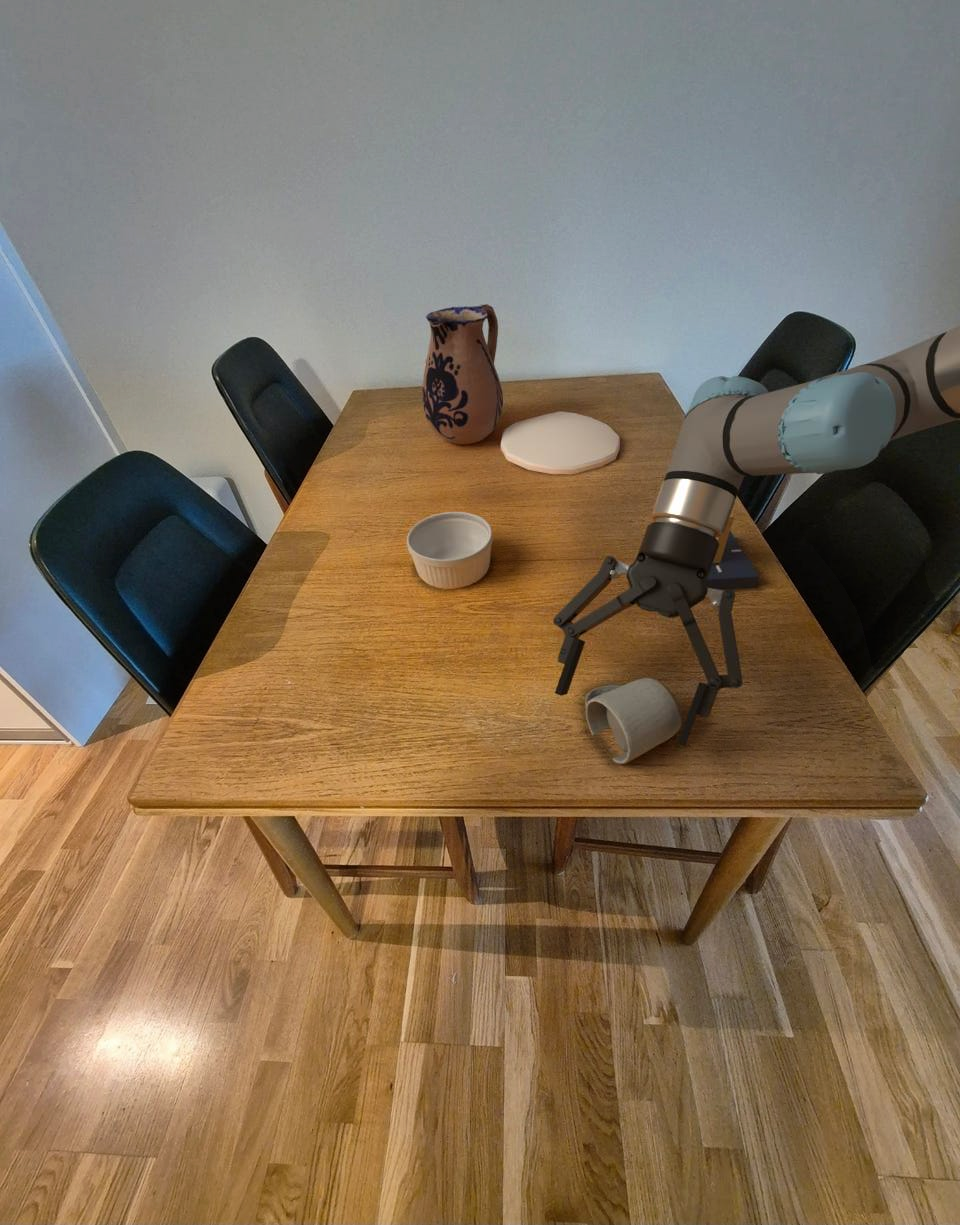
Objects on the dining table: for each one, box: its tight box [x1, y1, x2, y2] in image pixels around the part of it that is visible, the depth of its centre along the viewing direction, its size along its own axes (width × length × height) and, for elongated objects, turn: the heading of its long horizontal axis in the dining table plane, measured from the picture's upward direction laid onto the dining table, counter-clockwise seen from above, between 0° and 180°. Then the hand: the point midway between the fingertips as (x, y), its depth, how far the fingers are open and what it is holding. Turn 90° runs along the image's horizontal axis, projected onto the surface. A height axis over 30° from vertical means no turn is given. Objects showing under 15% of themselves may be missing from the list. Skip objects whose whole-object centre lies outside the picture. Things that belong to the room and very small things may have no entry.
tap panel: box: [707, 530, 760, 590], centre depth 81 cm, size 12×10×3 cm
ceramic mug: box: [584, 677, 683, 765], centre depth 60 cm, size 11×8×8 cm
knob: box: [713, 512, 735, 563], centre depth 77 cm, size 5×1×8 cm, turn 1°
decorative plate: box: [500, 410, 621, 475], centre depth 112 cm, size 25×4×25 cm
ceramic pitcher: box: [422, 303, 504, 445], centre depth 114 cm, size 18×21×25 cm
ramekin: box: [406, 511, 494, 590], centre depth 84 cm, size 13×13×7 cm
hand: (618, 717), depth 58 cm, fingers open, 13 cm apart
